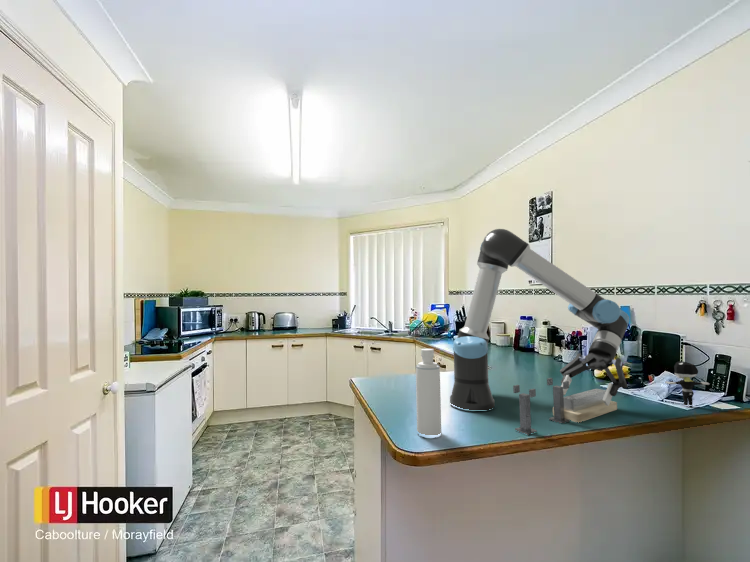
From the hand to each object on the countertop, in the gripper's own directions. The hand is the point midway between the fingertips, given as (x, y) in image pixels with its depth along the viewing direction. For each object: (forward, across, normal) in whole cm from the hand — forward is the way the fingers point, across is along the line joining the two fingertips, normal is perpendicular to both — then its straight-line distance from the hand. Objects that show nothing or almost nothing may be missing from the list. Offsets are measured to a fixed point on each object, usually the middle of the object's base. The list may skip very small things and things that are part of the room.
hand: (582, 397), depth 109 cm
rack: (+18, 0, +11) cm, 21 cm away
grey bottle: (+41, +13, +34) cm, 55 cm away
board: (+2, 0, -5) cm, 5 cm away
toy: (-22, -15, -30) cm, 40 cm away
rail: (0, 0, -3) cm, 3 cm away
